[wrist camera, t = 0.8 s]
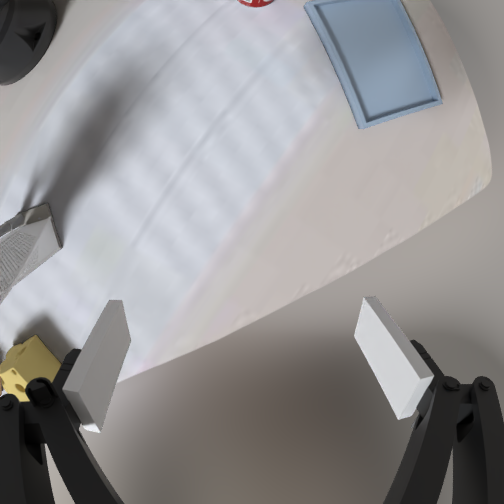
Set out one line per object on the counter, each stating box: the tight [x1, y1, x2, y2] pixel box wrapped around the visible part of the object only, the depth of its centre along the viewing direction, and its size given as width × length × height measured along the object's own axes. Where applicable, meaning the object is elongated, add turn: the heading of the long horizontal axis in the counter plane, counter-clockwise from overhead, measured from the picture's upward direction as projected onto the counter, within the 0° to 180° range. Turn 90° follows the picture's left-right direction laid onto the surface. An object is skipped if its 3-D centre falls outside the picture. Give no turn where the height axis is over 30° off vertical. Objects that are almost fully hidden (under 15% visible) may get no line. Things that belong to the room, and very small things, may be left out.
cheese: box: [0, 335, 61, 401], centre depth 41 cm, size 10×11×10 cm
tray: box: [304, 0, 443, 129], centre depth 30 cm, size 18×14×2 cm
